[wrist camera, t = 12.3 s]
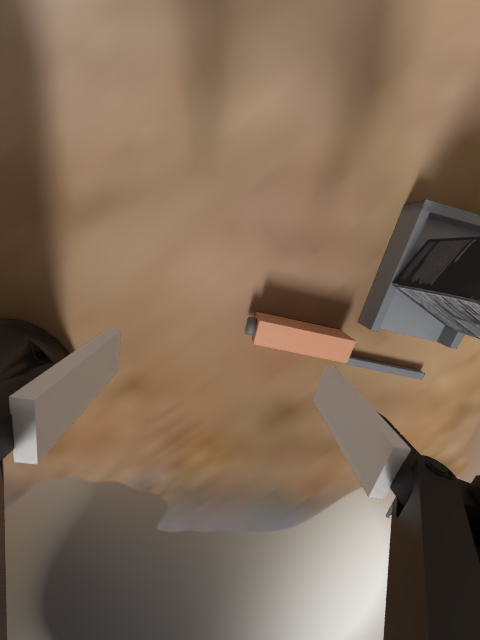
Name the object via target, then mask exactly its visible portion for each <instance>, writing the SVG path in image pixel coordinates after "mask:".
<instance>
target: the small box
mask: <svg viewBox="0 0 480 640" xmlns="http://www.w3.org/2000/svg"><path fill="white" fill-rule="evenodd" d="M392 285H393V286H394V287H396V288H397V289H398V290H400V291H401V292H402V293H403V294H405V295H406V296H407V297H409V298H410V299H411V300H412V301H414V302H415V303H416V304H418V305H419V306H420V307H422V308H423V309H424V310H426V311H427V312H428V313H429V314H431V315H432V316H433V317H435V318H436V319H437V320H439V321H440V322H441V323H443V324H444V325H445V326H447V327H448V328H449V329H451V330H454V331H457V332H460V333H464V334H467V335H470V336H473V337H476V338H478V339H480V236H475V237H458V238H440V239H429V240H428V241H427V242H426V243H425V244H424V245H423V246H422V248H421V249H420V250H419V251H418V252H417V254H416V255H415V256H414V257H413V258H412V259H411V261H410V262H409V263H408V264H407V265H406V267H405V268H404V269H403V270H402V272H401V273H400V274H399V275H398V276H397V278H396V279H395V280H394V281H393V283H392Z"/></svg>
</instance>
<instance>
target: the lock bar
mask: <svg viewBox="0 0 480 640" xmlns="http://www.w3.org/2000/svg"><path fill="white" fill-rule="evenodd" d="M245 334H248V335H252V340H253V344H255V345H260V346H265V347H270V348H275V349H280V350H285V351H290V352H294V353H299V354H304V355H309V356H314V357H319V358H324V359H329V360H334V361H339V362H343V363H347V362H348V360H349V357H350V355H351V352H352V350H353V348H354V345H355V343H356V341H355V340H354V339H352V338H351V337H350V336H348V335H347V334H346V333H344V332H343V331H342V330H339V329H334V328H329V327H325V326H320V325H316V324H311V323H306V322H302V321H297V320H293V319H288V318H284V317H279V316H274V315H270V314H265V313H261V312H256V315H255V318H252V317H248V320H247V324H246V329H245Z"/></svg>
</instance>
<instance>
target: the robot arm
mask: <svg viewBox="0 0 480 640" xmlns="http://www.w3.org/2000/svg"><path fill="white" fill-rule="evenodd" d="M120 342H121V330H117V329H112V328H107V329H106V330H104V331H103V332H101V333H100V334H98V335H97V336H96V337H94V338H93V339H91V340H90V341H88V342H87V343H85V344H84V345H83V346H81V347H80V348H78V349H77V350H75V351H74V352H73V353H71V354H70V355H69V354H68V352H67V351H66V350H65V348H64V347H63V346H62V345H61V344H60V343H59V342H58V341H57V340H56V339H55V338H54V337H52V336H51V335H50V334H48V333H47V332H45V331H44V330H42V329H40V328H38V327H36V326H34V325H32V324H29V323H26V322H23V321H18V320H12V319H0V640H7V620H6V619H7V618H6V617H7V614H6V572H5V571H6V567H5V519H4V472H3V459H4V458H5V457H6V456H7V455H8V454H9V453H10V452H11V451H12V450H13V452H14V462H20V463H30V464H38V463H39V462H40V461H41V460H42V459H43V457H44V456H45V455H46V454H47V453H48V452H49V450H50V449H51V448H52V447H53V446H54V445H55V444H56V442H57V441H58V440H59V439H60V438H61V437H62V435H63V434H64V433H65V432H66V431H67V430H68V428H69V427H70V426H71V425H72V424H73V423H74V421H75V420H76V419H77V418H78V417H79V416H80V414H81V413H82V412H83V411H84V410H85V409H86V407H87V406H88V405H89V404H90V403H91V402H92V400H93V399H94V398H95V397H96V396H97V395H98V394H99V392H100V391H101V390H102V389H103V388H104V387H105V385H106V384H107V383H108V382H109V381H110V380H111V378H112V377H113V376H114V375H115V374H116V373H117V371H118V369H119V355H120ZM313 401H314V403H315V405H316V407H317V408H318V410H319V412H320V414H321V415H322V417H323V419H324V421H325V422H326V424H327V426H328V428H329V429H330V431H331V433H332V435H333V436H334V438H335V440H336V441H337V443H338V445H339V447H340V448H341V450H342V452H343V454H344V455H345V457H346V459H347V461H348V462H349V464H350V466H351V468H352V469H353V471H354V473H355V475H356V476H357V478H358V480H359V482H360V483H361V485H362V487H363V489H364V490H365V492H366V494H367V496H368V497H372V498H373V497H374V498H383V499H384V498H385V497H386V495H387V493H388V491H389V489H390V488H391V490H392V491H393V493H394V494H395V495H396V498H395V499H394V501H393V503H392V505H391V507H390V508H389V510H388V512H387V514H386V517H388V518H389V516H390V515H392V521H391V536H390V550H389V566H388V580H387V595H386V610H385V626H384V640H480V475H479V476H476V477H475V478H474V480H473V481H472V483H468V482H465V481H462V480H460V479H457V478H456V476H455V475H454V474H453V473H452V472H451V471H450V470H449V469H448V468H447V467H446V466H444V465H443V464H442V463H440V462H438V461H437V460H435V459H433V458H431V457H428V456H424V455H420V454H419V453H418V451H417V450H416V449H415V448H414V447H413V446H412V445H411V444H410V443H409V442H408V441H407V440H406V439H405V438H404V437H403V436H402V434H400V432H399V431H398V430H397V429H396V428H394V426H393V425H392V424H391V423H390V422H389V421H388V420H387V419H386V418H385V417H384V416H382V415H381V414H380V413H378V412H376V410H375V409H374V408H373V407H372V406H371V405H370V404H369V403H368V402H367V401H366V400H365V399H364V397H363V396H362V395H361V394H360V393H359V392H358V391H357V390H356V389H355V388H354V387H353V385H352V384H351V383H350V382H349V381H348V380H347V379H346V378H345V377H344V376H343V375H342V374H341V372H340V371H339V370H338V369H337V368H336V367H332V366H326V365H325V366H324V369H323V372H322V375H321V378H320V380H319V383H318V386H317V389H316V392H315V394H314V397H313Z"/></svg>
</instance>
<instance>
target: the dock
mask: <svg viewBox="0 0 480 640" xmlns="http://www.w3.org/2000/svg"><path fill="white" fill-rule="evenodd" d="M475 236H480V215H479V214H475V213H472V212H468V211H465V210H461V209H458V208H454V207H451V206H447V205H444V204H440V203H437V202H433V201H430V200H427V199H425V200H421V201H417V202H413V203H409V204H405V205H404V207H403V210H402V212H401V215H400V217H399V220H398V222H397V225H396V227H395V230H394V232H393V235H392V237H391V240H390V242H389V245H388V247H387V250H386V252H385V255H384V257H383V260H382V262H381V265H380V267H379V270H378V272H377V275H376V277H375V280H374V282H373V285H372V287H371V290H370V292H369V295H368V297H367V300H366V302H365V305H364V307H363V310H362V312H361V315H360V317H359V320H358V323H360V324H361V325H363V326H365V327H366V328H368V329H370V330H372V331H377V332H378V331H379V329H382V330H387V331H391V332H396V333H400V334H405V335H409V336H414V337H418V338H423V339H427V340H432V341H436V342H439V343H441V344H443V345H445V346H447V347H450V348H454V349H457V347H458V346H459V344H460V342H461V340H462V338H463V337H464V335H465V334H464V333H460V332H457V331H454V330H451V329H449V328H448V327H447V326H445V325H444V324H443V323H441V322H440V321H439V320H437V319H436V318H435V317H433V316H432V315H431V314H429V313H428V312H427V311H426V310H424V309H423V308H422V307H420V306H419V305H418V304H416V303H415V302H414V301H412V300H411V299H410V298H409V297H407V296H406V295H405V294H403V293H402V292H401V291H400V290H398V289H397V288H396V287H394V286H393V285H392V283H393V281H394V280H395V279H396V278H397V276H398V275H399V274H400V273H401V272H402V270H403V269H404V268H405V267H406V265H407V264H408V263H409V262H410V261H411V259H412V258H413V257H414V256H415V255H416V254H417V252H418V251H419V250H420V249H421V248H422V246H423V245H424V244H425V243H426V242H427V241H428V240H429V239H440V238H458V237H475ZM345 364H347V365H352V366H357V367H362V368H367V369H372V370H377V371H382V372H386V373H391V374H396V375H401V376H406V377H411V378H416V379H421V380H422V379H423V377H424V376H425V373H423V372H422V371H420V370H416V369H411V368H406V367H402V366H397V365H392V364H387V363H382V362H378V361H373V360H368V359H363V358H358V357H353V356H350V357H349V360H348V362H347V363H345Z"/></svg>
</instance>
